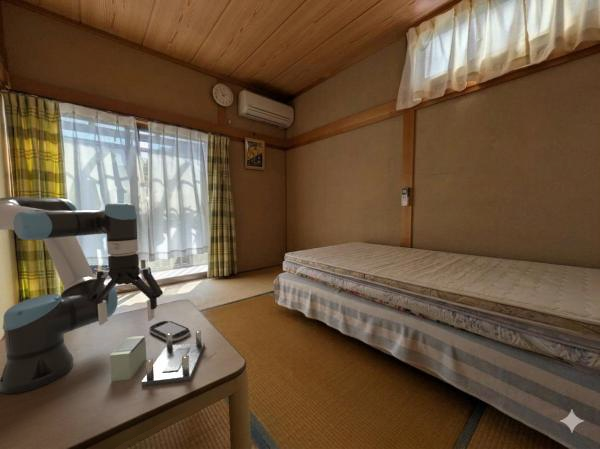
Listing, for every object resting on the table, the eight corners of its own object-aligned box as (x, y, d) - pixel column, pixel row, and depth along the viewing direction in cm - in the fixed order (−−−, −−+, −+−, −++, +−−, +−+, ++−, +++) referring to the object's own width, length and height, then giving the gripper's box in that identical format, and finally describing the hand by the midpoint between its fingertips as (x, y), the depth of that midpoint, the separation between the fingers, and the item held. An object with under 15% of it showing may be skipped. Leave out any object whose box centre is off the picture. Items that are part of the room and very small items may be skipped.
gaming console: (145, 332, 98) (145, 326, 98) (167, 323, 106) (166, 318, 106) (172, 346, 88) (172, 339, 88) (194, 334, 96) (193, 328, 95)
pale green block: (111, 381, 70) (109, 355, 69) (130, 360, 80) (128, 336, 79) (130, 379, 71) (128, 353, 70) (146, 358, 80) (145, 335, 80)
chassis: (141, 386, 67) (140, 364, 67) (166, 349, 85) (165, 332, 85) (190, 381, 69) (189, 359, 69) (204, 346, 87) (204, 329, 87)
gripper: (67, 258, 67) (72, 330, 68) (162, 254, 71) (165, 323, 72) (86, 253, 74) (91, 318, 76) (171, 250, 78) (174, 312, 80)
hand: (127, 321), depth 74 cm, fingers open, 13 cm apart
